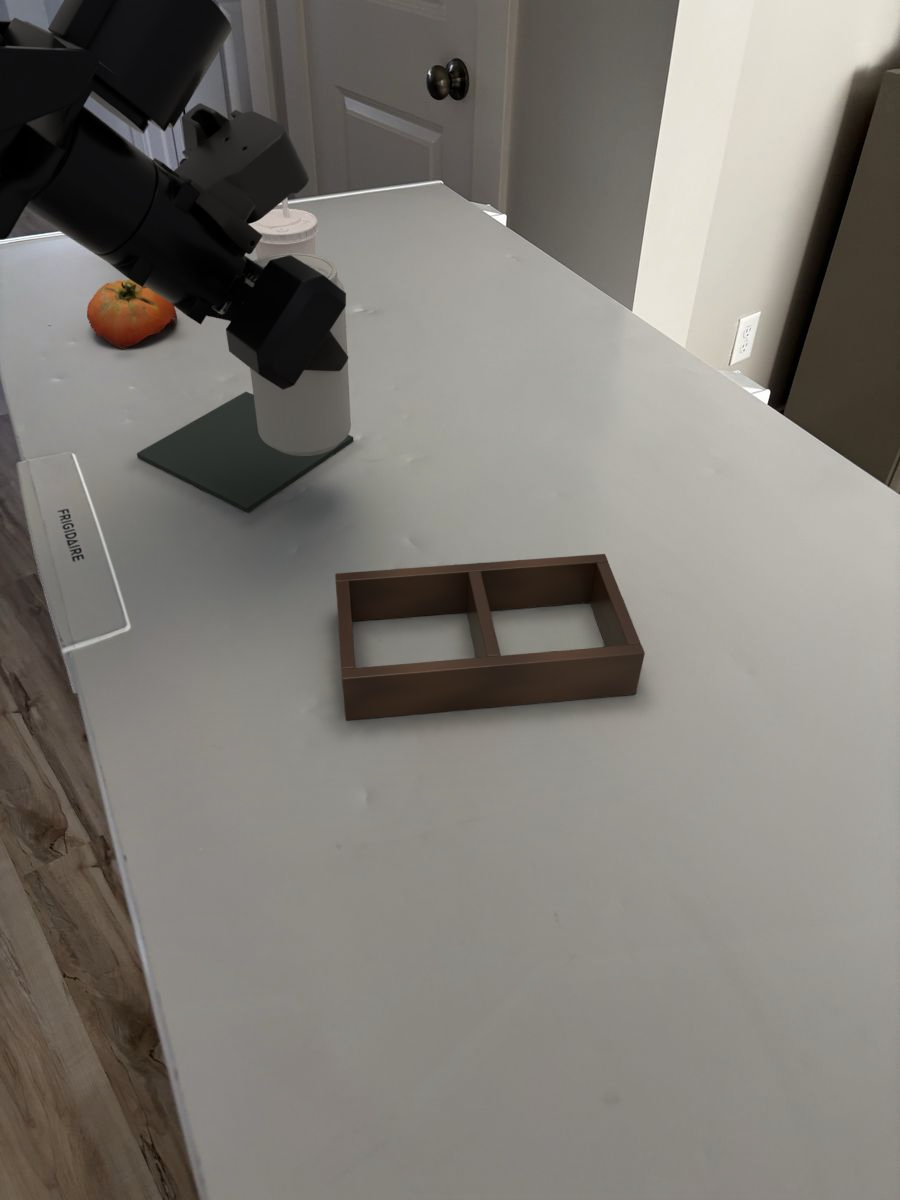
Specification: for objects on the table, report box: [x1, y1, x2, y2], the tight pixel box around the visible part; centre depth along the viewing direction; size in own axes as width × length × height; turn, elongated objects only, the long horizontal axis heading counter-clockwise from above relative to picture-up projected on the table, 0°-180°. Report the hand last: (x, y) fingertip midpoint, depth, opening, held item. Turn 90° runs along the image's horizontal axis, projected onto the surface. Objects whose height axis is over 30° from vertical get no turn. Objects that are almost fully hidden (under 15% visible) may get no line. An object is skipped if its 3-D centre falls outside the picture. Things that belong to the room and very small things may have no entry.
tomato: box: [86, 278, 178, 350], centre depth 88 cm, size 8×7×7 cm
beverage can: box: [245, 253, 352, 456], centre depth 61 cm, size 6×6×12 cm
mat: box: [136, 391, 354, 513], centre depth 74 cm, size 12×12×1 cm
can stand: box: [334, 553, 646, 721], centre depth 56 cm, size 17×9×4 cm, turn 97°
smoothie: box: [249, 197, 320, 259], centre depth 86 cm, size 6×6×14 cm
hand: (315, 344), depth 61 cm, fingers closed on beverage can, 6 cm apart
